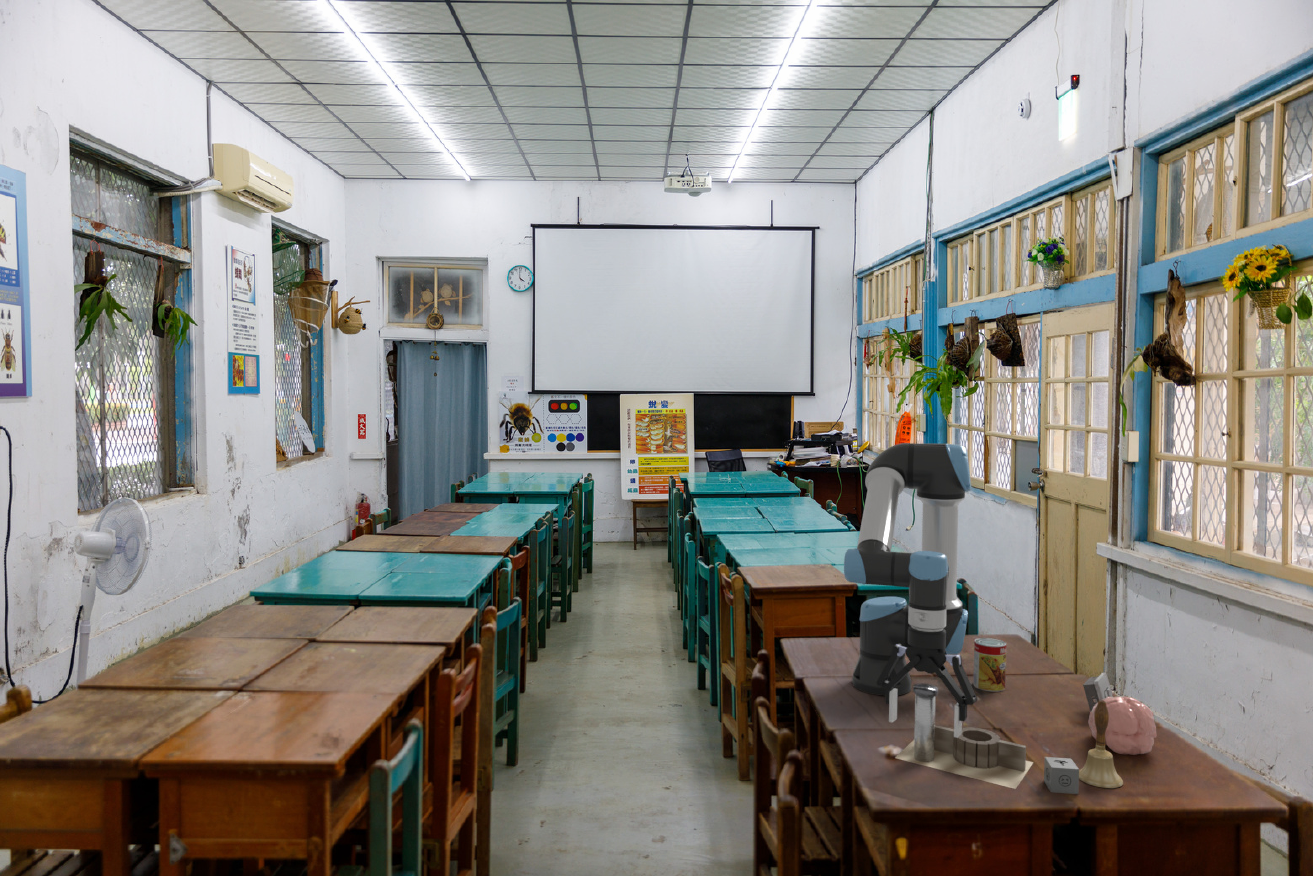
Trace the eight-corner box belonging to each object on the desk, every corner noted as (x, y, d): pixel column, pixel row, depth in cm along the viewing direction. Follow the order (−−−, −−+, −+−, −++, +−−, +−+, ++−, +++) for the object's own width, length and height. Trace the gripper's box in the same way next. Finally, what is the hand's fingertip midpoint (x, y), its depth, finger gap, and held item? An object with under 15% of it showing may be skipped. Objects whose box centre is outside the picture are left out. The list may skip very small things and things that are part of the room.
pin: (908, 759, 180) (909, 688, 179) (916, 751, 184) (917, 681, 183) (931, 765, 177) (933, 693, 176) (939, 757, 181) (941, 686, 180)
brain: (1082, 754, 196) (1075, 698, 201) (1142, 757, 195) (1134, 700, 199) (1107, 753, 182) (1099, 692, 186) (1172, 755, 180) (1163, 694, 184)
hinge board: (894, 763, 181) (895, 734, 180) (918, 740, 193) (919, 713, 193) (1015, 795, 167) (1016, 763, 166) (1033, 768, 179) (1034, 738, 179)
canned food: (1009, 692, 225) (1011, 646, 224) (979, 691, 225) (980, 646, 225) (998, 682, 233) (1000, 638, 232) (969, 681, 233) (970, 637, 232)
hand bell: (1068, 771, 178) (1070, 694, 177) (1107, 769, 178) (1109, 693, 178) (1092, 789, 170) (1094, 709, 169) (1132, 788, 170) (1135, 708, 169)
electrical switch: (1108, 722, 205) (1105, 682, 205) (1084, 718, 208) (1081, 680, 208) (1116, 711, 212) (1113, 673, 212) (1093, 708, 215) (1090, 670, 215)
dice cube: (1070, 783, 172) (1071, 758, 172) (1078, 794, 167) (1079, 769, 167) (1043, 781, 173) (1044, 756, 173) (1050, 792, 168) (1051, 767, 168)
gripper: (862, 621, 183) (860, 719, 184) (984, 641, 169) (981, 748, 170) (876, 614, 190) (874, 709, 191) (994, 633, 175) (991, 736, 176)
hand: (924, 728), depth 180 cm, fingers open, 13 cm apart
